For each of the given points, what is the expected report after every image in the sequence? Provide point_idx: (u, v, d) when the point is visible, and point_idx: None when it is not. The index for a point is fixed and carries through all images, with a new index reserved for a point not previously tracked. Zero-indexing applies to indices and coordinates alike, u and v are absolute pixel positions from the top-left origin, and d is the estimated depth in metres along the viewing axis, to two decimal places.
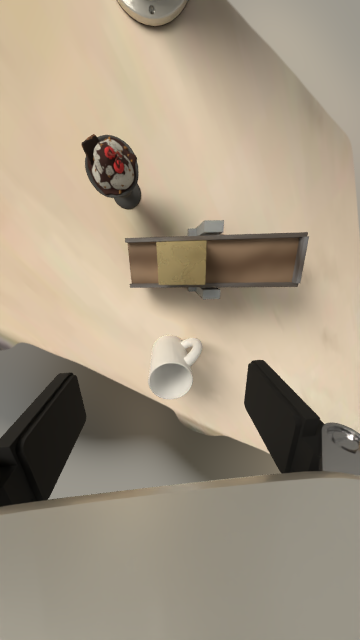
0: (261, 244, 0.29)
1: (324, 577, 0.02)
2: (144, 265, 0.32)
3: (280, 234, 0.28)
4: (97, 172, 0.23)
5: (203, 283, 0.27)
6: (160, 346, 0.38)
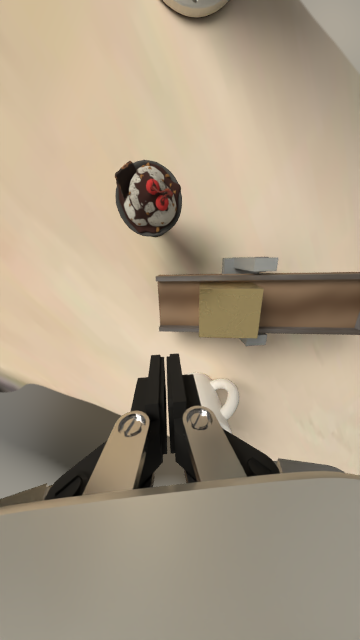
0: (321, 285, 0.24)
1: (324, 577, 0.02)
2: (176, 305, 0.27)
3: (349, 275, 0.23)
4: (132, 207, 0.18)
5: (255, 337, 0.22)
6: None
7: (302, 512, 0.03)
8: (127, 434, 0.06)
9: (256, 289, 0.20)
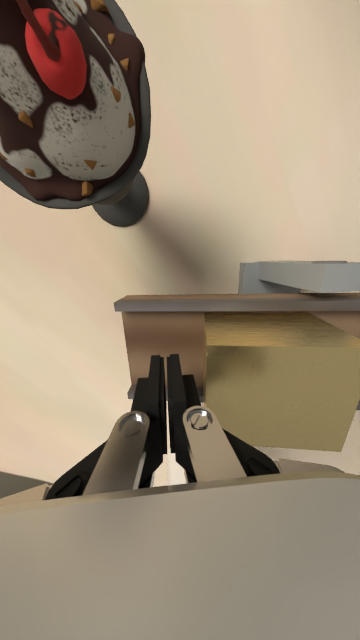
0: None
1: (324, 577, 0.02)
2: (159, 353, 0.14)
3: None
4: None
5: (335, 448, 0.10)
6: None
7: (302, 512, 0.03)
8: (127, 434, 0.06)
9: (356, 349, 0.08)
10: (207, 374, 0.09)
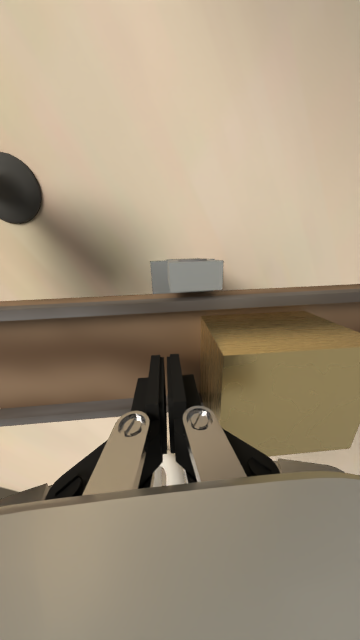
0: (310, 312, 0.12)
1: (324, 577, 0.02)
2: (24, 369, 0.12)
3: None
4: None
5: (345, 446, 0.10)
6: None
7: (302, 512, 0.03)
8: (127, 434, 0.06)
9: None
10: (223, 388, 0.08)
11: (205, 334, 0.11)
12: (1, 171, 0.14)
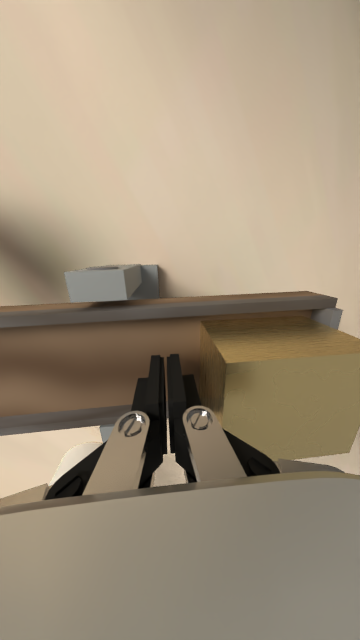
0: None
1: (324, 577, 0.02)
2: None
3: (276, 304, 0.11)
4: None
5: (345, 450, 0.10)
6: None
7: (302, 512, 0.03)
8: (127, 434, 0.06)
9: None
10: (225, 395, 0.08)
11: (205, 339, 0.11)
12: None
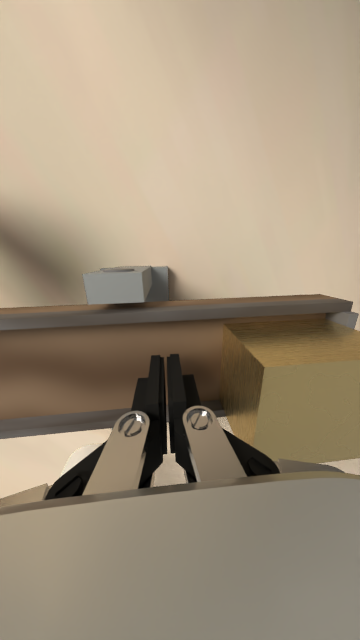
0: None
1: (324, 577, 0.02)
2: None
3: (293, 307, 0.11)
4: None
5: None
6: None
7: (302, 512, 0.03)
8: (127, 434, 0.06)
9: None
10: (261, 399, 0.08)
11: (231, 343, 0.11)
12: None
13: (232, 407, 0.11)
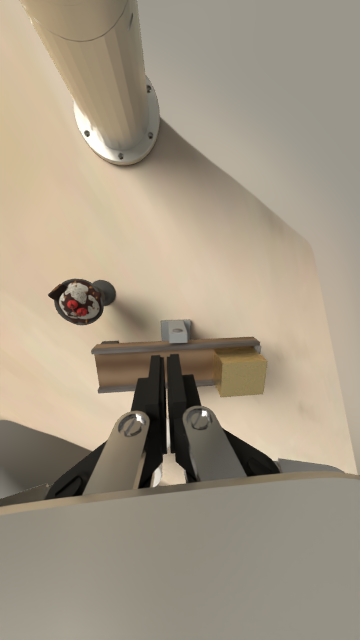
0: None
1: (324, 577, 0.02)
2: (112, 370, 0.32)
3: (238, 344, 0.31)
4: None
5: (261, 393, 0.30)
6: None
7: (302, 512, 0.03)
8: (127, 434, 0.06)
9: (262, 361, 0.28)
10: (222, 372, 0.28)
11: (216, 356, 0.31)
12: (102, 288, 0.35)
13: (216, 379, 0.31)
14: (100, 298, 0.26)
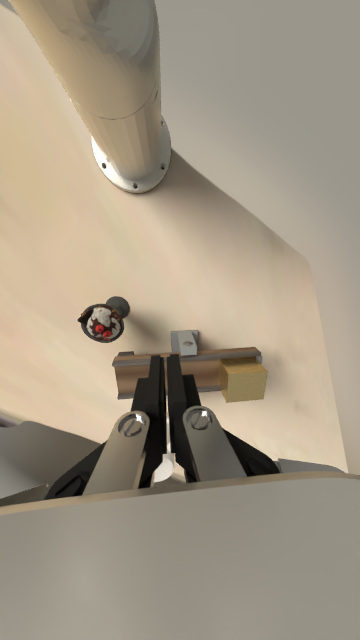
0: None
1: (324, 577, 0.02)
2: (130, 379, 0.36)
3: (241, 355, 0.35)
4: None
5: (262, 398, 0.34)
6: None
7: (302, 512, 0.03)
8: (127, 434, 0.06)
9: (263, 371, 0.32)
10: (228, 382, 0.32)
11: (222, 366, 0.35)
12: (118, 304, 0.38)
13: (222, 386, 0.35)
14: (121, 320, 0.29)
